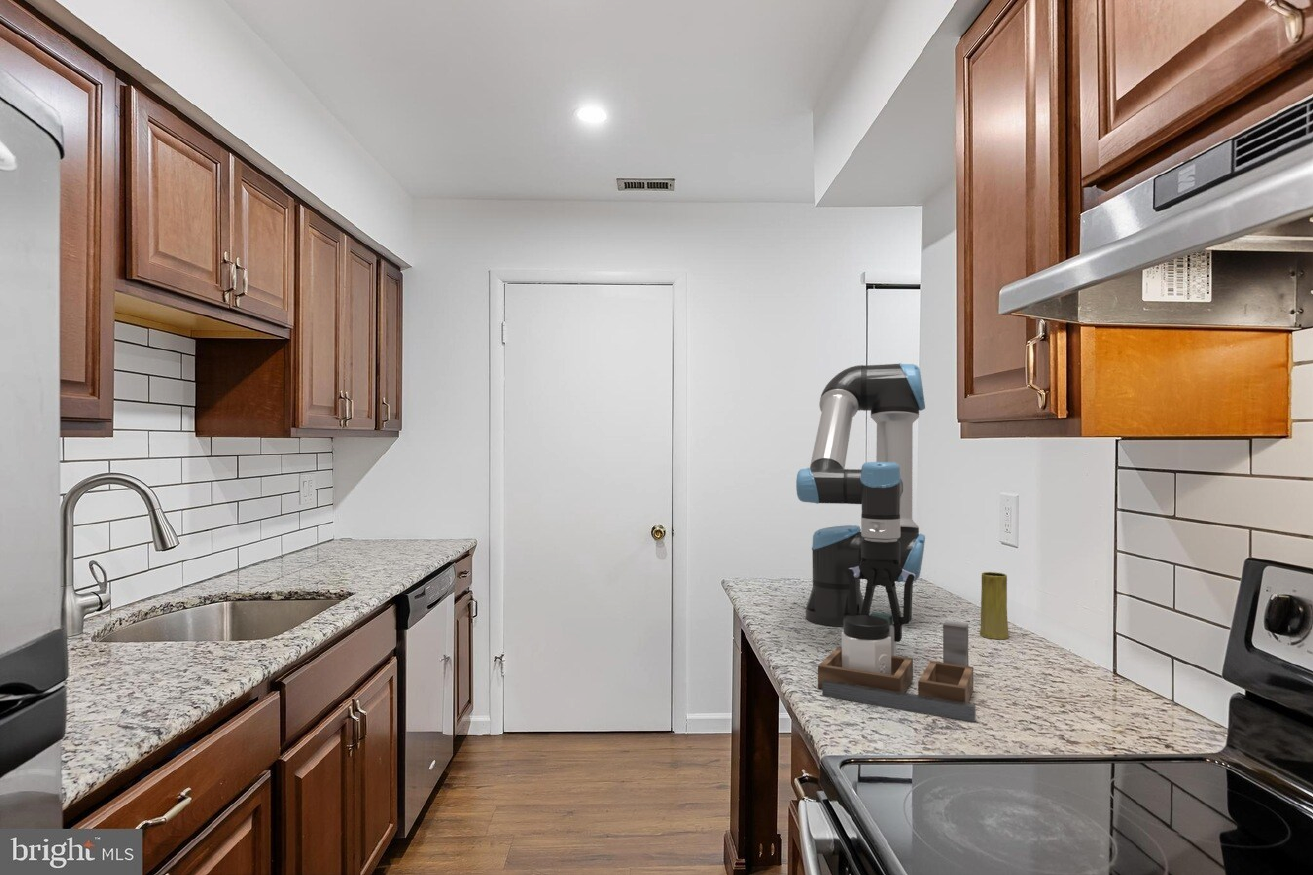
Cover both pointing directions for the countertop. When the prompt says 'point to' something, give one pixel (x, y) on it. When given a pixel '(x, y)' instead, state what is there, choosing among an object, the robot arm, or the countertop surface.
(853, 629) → the jar
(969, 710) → the end bar
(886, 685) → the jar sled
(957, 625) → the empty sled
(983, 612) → the vase
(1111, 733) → the countertop surface
